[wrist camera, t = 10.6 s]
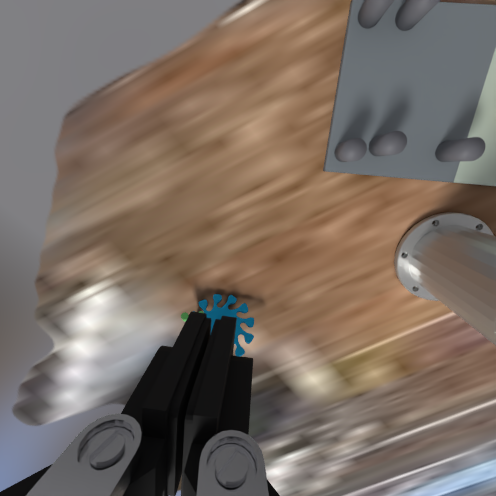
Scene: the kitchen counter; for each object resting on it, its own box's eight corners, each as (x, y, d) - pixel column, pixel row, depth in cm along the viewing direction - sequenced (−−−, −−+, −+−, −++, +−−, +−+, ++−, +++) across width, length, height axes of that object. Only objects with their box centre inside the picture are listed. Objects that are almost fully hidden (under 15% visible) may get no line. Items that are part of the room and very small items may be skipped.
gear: (264, 306, 39) (240, 375, 35) (260, 315, 45) (239, 376, 40) (197, 280, 41) (165, 344, 36) (201, 292, 46) (173, 349, 42)
